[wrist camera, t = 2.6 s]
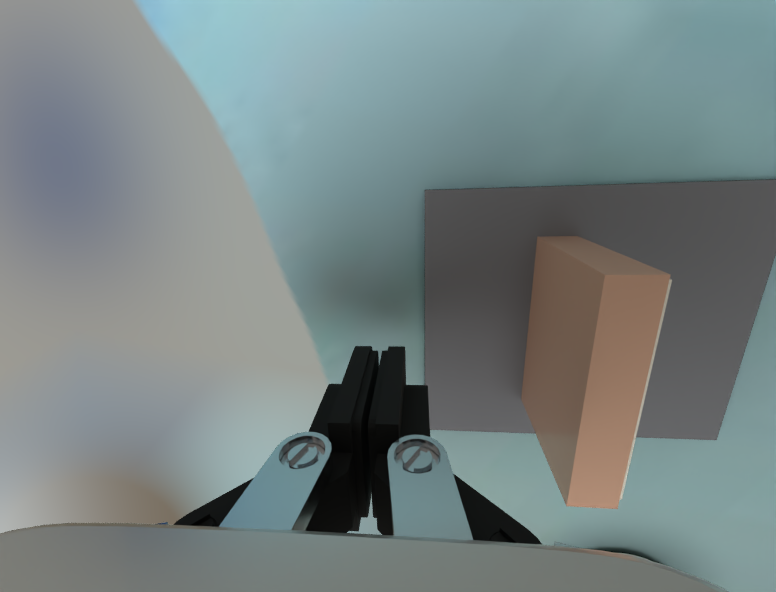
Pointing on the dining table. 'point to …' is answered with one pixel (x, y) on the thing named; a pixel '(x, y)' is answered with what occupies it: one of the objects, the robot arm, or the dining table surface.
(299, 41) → the dining table surface
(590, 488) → the tile
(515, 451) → the dining table surface
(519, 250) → the mat
